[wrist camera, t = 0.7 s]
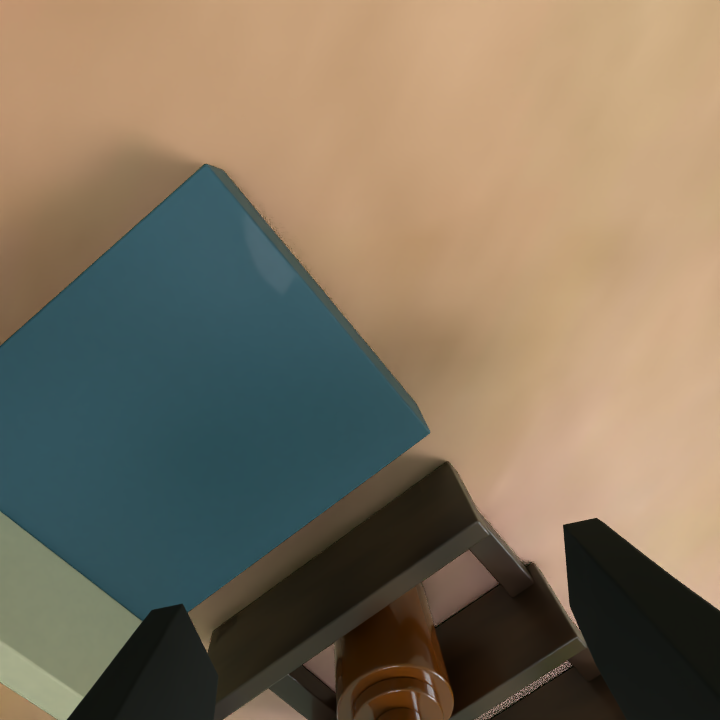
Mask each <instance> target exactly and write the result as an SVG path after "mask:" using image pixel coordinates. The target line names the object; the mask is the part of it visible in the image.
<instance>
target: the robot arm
mask: <svg viewBox="0 0 720 720" xmlns="http://www.w3.org/2000/svg"><path fill="white" fill-rule="evenodd" d="M563 529H564V542H565V554H566V566H567V578H568V591H569V603H570V608H571V610H572V612H573V614H574V617H575V619H576V621H577V624H578V626H579V628H580V631H581V633H582V635H583V637H584V640H585V642H586V644H587V646H588V648H589V651H590V653H591V655H592V657H593V660H594V662H595V664H596V666H597V668H598V670H599V671H600V673H601V675H602V677H603V679H604V680H605V682H606V684H607V686H608V687H609V689H610V691H611V693H612V695H613V696H614V698H615V700H616V702H617V703H618V705H619V707H620V709H621V711H622V712H623V714H624V716H625V718H626V719H627V720H720V611H719V610H718V609H717V608H715V607H714V606H712V605H711V604H710V603H708V602H707V601H706V600H704V599H703V598H701V597H700V596H699V595H697V594H696V593H694V592H693V591H692V590H690V589H689V588H688V587H686V586H685V585H684V584H682V583H681V582H679V581H678V580H677V579H675V578H674V577H673V576H671V575H670V574H669V573H668V572H666V571H665V570H664V569H662V568H661V567H660V566H658V565H657V564H656V563H654V562H653V561H652V560H651V559H649V558H648V557H647V556H645V555H644V554H643V553H642V552H640V551H639V550H638V549H636V548H635V547H634V546H633V545H631V544H630V543H629V542H627V541H626V540H625V539H624V538H622V537H621V536H620V535H619V534H617V533H616V532H615V531H614V530H612V529H611V528H610V527H609V526H607V525H606V524H605V523H603V522H602V521H600V520H599V519H597V518H594V519H589V520H584V521H580V522H575V523H570V524H565V525H563ZM217 685H218V674H217V672H216V670H215V668H214V666H213V664H212V662H211V660H210V658H209V656H208V654H207V652H206V650H205V648H204V646H203V644H202V641H201V639H200V637H199V635H198V633H197V631H196V629H195V627H194V625H193V623H192V621H191V619H190V617H189V615H188V613H187V611H186V609H185V607H184V605H183V604H178V605H173V606H168V607H163V608H158V609H154V610H151V612H150V613H149V614H148V615H147V616H146V618H145V619H144V620H143V621H142V623H141V624H140V625H139V626H138V628H137V629H136V630H135V632H134V633H133V634H132V635H131V637H130V638H129V639H128V641H127V642H126V643H125V645H124V646H123V647H122V649H121V650H120V651H119V652H118V654H117V655H116V656H115V658H114V659H113V660H112V662H111V663H110V664H109V666H108V667H107V668H106V670H105V671H104V672H103V673H102V675H101V676H100V677H99V679H98V680H97V681H96V683H95V684H94V685H93V686H92V688H91V689H90V690H89V692H88V693H87V694H86V695H85V697H84V698H83V699H82V701H81V702H80V703H79V704H78V706H77V707H76V708H75V710H74V711H73V712H72V713H71V715H70V716H69V717H68V719H67V720H214V713H215V704H216V695H217Z"/></svg>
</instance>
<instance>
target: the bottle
mask: <svg viewBox="0 0 720 720" xmlns="http://www.w3.org/2000/svg"><path fill="white" fill-rule="evenodd" d="M334 657H335V683H336V708H337V719H338V720H449V719H450V717H451V715H452V711H453V706H454V695H453V691H452V687H451V684H450V680H449V676H448V673H447V669H446V666H445V662H444V659H443V655H442V651H441V648H440V644H439V641H438V637H437V633H436V630H435V626H434V623H433V619H432V616H431V612H430V608H429V605H428V601H427V598H426V594H425V590H424V588H423V585H422V584H421V583H419V584H418V585H416V586H415V587H414V588H412V589H411V590H409V591H408V592H406V593H405V594H403V595H402V596H401V597H399V598H398V599H396V600H395V601H393V602H392V603H390V604H389V605H388V606H386V607H385V608H383V609H382V610H380V611H379V612H378V613H376V614H375V615H373V616H372V617H370V618H369V619H367V620H366V621H365V622H363V623H362V624H360V625H359V626H357V627H356V628H354V629H353V630H352V631H350V632H349V633H347V634H346V635H344V636H343V637H341V638H340V639H339V640H337V641H336V642H334Z"/></svg>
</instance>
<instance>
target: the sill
mask: <svg viewBox="0 0 720 720" xmlns="http://www.w3.org/2000/svg"><path fill="white" fill-rule="evenodd" d="M428 434H430V430H429V428H428V426H427V424H426V422H425V420H424V418H423V416H422V414H421V412H420V410H419V408H418V406H417V404H416V403H415V401H414V400H413V399H412V398H411V397H410V395H409V394H408V393H407V392H406V391H405V389H404V388H403V387H402V386H401V385H400V383H399V382H398V381H397V380H396V379H395V377H394V376H393V375H392V374H391V372H390V371H389V370H388V369H387V368H386V366H385V365H384V364H383V363H382V362H381V360H380V359H379V358H378V357H377V356H376V354H375V353H374V352H373V351H372V349H371V348H370V347H369V346H368V345H367V343H366V342H365V341H364V340H363V339H362V337H361V336H360V335H359V334H358V333H357V331H356V330H355V329H354V328H353V327H352V325H351V324H350V323H349V322H348V320H347V319H346V318H345V317H344V316H343V314H342V313H341V312H340V311H339V310H338V308H337V307H336V306H335V305H334V304H333V302H332V301H331V300H330V299H329V298H328V296H327V295H326V294H325V293H324V291H323V290H322V289H321V288H320V287H319V285H318V284H317V283H316V282H315V281H314V279H313V278H312V277H311V276H310V275H309V273H308V272H307V271H306V270H305V268H304V267H303V266H302V265H301V264H300V262H299V261H298V260H297V259H296V258H295V256H294V255H293V254H292V253H291V252H290V250H289V249H288V248H287V247H286V246H285V244H284V243H283V242H282V241H281V239H280V238H279V237H278V236H277V235H276V233H275V232H274V231H273V230H272V229H271V227H270V226H269V225H268V224H267V223H266V221H265V220H264V219H263V218H262V217H261V215H260V214H259V213H258V212H257V210H256V209H255V208H254V207H253V206H252V204H251V203H250V202H249V201H248V200H247V198H246V197H245V196H244V195H243V194H242V192H241V191H240V190H239V189H238V188H237V186H236V185H235V184H234V183H233V181H232V180H231V179H230V178H229V177H228V175H227V174H226V173H225V172H224V171H223V170H222V169H219V168H216V167H214V166H211V165H208V164H204V165H203V166H202V167H201V168H200V169H198V170H197V171H196V172H195V173H194V174H193V175H192V176H191V177H189V178H188V179H187V180H186V181H185V182H184V183H183V184H182V185H180V186H179V187H178V188H177V189H176V190H175V191H174V192H173V193H171V194H170V195H169V196H168V197H167V198H166V199H165V200H164V201H162V202H161V203H160V204H159V205H158V206H157V207H156V208H155V209H153V210H152V211H151V212H150V213H149V214H148V215H147V216H146V217H144V218H143V219H142V220H141V221H140V222H139V223H138V224H137V225H135V226H134V227H133V228H132V229H131V230H130V231H129V232H128V233H126V234H125V235H124V236H123V237H122V238H121V239H120V240H119V241H117V242H116V243H115V244H114V245H113V246H112V247H111V248H110V249H108V250H107V251H106V252H105V253H104V254H103V255H102V256H101V257H99V258H98V259H97V260H96V261H95V262H94V263H93V264H92V265H91V266H89V267H88V268H87V269H86V270H85V271H84V272H83V273H82V274H80V275H79V276H78V277H77V278H76V279H75V280H74V281H73V282H71V283H70V284H69V285H68V286H67V287H66V288H65V289H64V290H62V291H61V292H60V293H59V294H58V295H57V296H56V297H55V298H53V299H52V300H51V301H50V302H49V303H48V304H47V305H46V306H44V307H43V308H42V309H41V310H40V311H39V312H38V313H37V314H35V315H34V316H33V317H32V318H31V319H30V320H29V321H28V322H26V323H25V324H24V325H23V326H22V327H21V328H20V329H19V330H17V331H16V332H15V333H14V334H13V335H12V336H11V337H10V338H8V339H7V340H6V341H5V342H4V343H3V344H2V345H1V346H0V682H1V683H2V684H4V685H5V686H7V687H8V688H10V689H11V690H13V691H14V692H16V693H17V694H19V695H21V696H22V697H24V698H25V699H27V700H28V701H30V702H31V703H33V704H34V705H36V706H37V707H39V708H40V709H42V710H44V711H45V712H47V713H48V714H50V715H51V716H53V717H54V718H56V719H57V720H67V719H68V717H69V716H70V715H71V713H72V712H73V711H74V710H75V708H76V707H77V706H78V704H79V703H80V702H81V701H82V699H83V698H84V697H85V695H86V694H87V693H88V692H89V690H90V689H91V688H92V686H93V685H94V684H95V683H96V681H97V680H98V679H99V677H100V676H101V675H102V673H103V672H104V671H105V670H106V668H107V667H108V666H109V664H110V663H111V662H112V660H113V659H114V658H115V656H116V655H117V654H118V652H119V651H120V650H121V649H122V647H123V646H124V645H125V643H126V642H127V641H128V639H129V638H130V637H131V635H132V634H133V633H134V632H135V630H136V629H137V628H138V626H139V625H140V624H141V623H142V621H143V620H144V619H145V618H146V616H147V615H148V614H149V613H150V612H151V610H154V609H158V608H163V607H168V606H173V605H178V604H183V605H184V607H185V609H186V611H187V613H188V612H189V611H190V610H192V609H193V608H194V607H196V606H197V605H198V604H200V603H201V602H202V601H204V600H205V599H206V598H208V597H209V596H211V595H212V594H213V593H215V592H216V591H217V590H219V589H220V588H221V587H223V586H224V585H225V584H227V583H228V582H229V581H231V580H232V579H234V578H235V577H236V576H238V575H239V574H240V573H242V572H243V571H244V570H246V569H247V568H248V567H250V566H251V565H252V564H254V563H255V562H257V561H258V560H259V559H261V558H262V557H263V556H265V555H266V554H267V553H269V552H270V551H271V550H273V549H274V548H275V547H277V546H278V545H280V544H281V543H282V542H284V541H285V540H286V539H288V538H289V537H290V536H292V535H293V534H294V533H296V532H297V531H298V530H300V529H301V528H303V527H304V526H305V525H307V524H308V523H309V522H311V521H312V520H313V519H315V518H316V517H317V516H319V515H320V514H321V513H323V512H324V511H326V510H327V509H328V508H330V507H331V506H332V505H334V504H335V503H336V502H338V501H339V500H340V499H342V498H343V497H344V496H346V495H347V494H349V493H350V492H351V491H353V490H354V489H355V488H357V487H358V486H359V485H361V484H362V483H363V482H365V481H366V480H368V479H369V478H370V477H372V476H373V475H374V474H376V473H377V472H378V471H380V470H381V469H382V468H384V467H385V466H386V465H388V464H389V463H391V462H392V461H393V460H395V459H396V458H397V457H399V456H400V455H401V454H403V453H404V452H405V451H407V450H408V449H409V448H411V447H412V446H414V445H415V444H416V443H418V442H419V441H420V440H422V439H423V438H424V437H426V436H427V435H428Z"/></svg>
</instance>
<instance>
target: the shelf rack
mask: <svg viewBox="0 0 720 720" xmlns="http://www.w3.org/2000/svg"><path fill="white" fill-rule="evenodd" d="M468 549H469V550H470V551H471V552H472V553H473V554H474V555H475V556H476V558H477V559H478V560H479V561H480V562H481V563H482V564H483V565H484V566H485V568H486V569H487V570H488V571H489V572H490V573H491V574H492V575H493V577H494V578H495V579H496V580H497V581H498V582H499V583H500V585H499V586H498V587H496V588H495V589H493V590H492V591H490V592H489V593H487V594H486V595H484V596H483V597H481V598H480V599H478V600H477V601H475V602H474V603H472V604H471V605H469V606H468V607H466V608H465V609H463V610H462V611H461V612H459V613H458V614H456V615H455V616H453V617H452V618H450V619H449V620H447V621H446V622H444V623H443V624H441V625H440V626H438V627H437V628H435V630H436V633H437V637H438V641H439V644H440V648H441V651H442V655H443V659H444V662H445V666H446V669H447V673H448V676H449V680H450V684H451V687H452V691H453V695H454V706H453V711H452V715H451V717H450V719H449V720H474V719H476V718H477V717H479V716H481V715H482V714H484V713H485V712H487V711H488V710H490V709H491V708H493V707H495V706H496V705H498V704H499V703H501V702H502V701H504V700H506V699H507V698H509V697H510V696H512V695H513V694H515V693H517V692H518V691H520V690H521V689H523V688H524V687H526V686H528V685H529V684H531V683H532V682H534V681H535V680H537V679H539V678H540V677H542V676H543V675H545V674H546V673H548V672H549V671H551V670H553V669H554V668H556V667H557V666H559V665H560V664H562V663H564V662H565V661H567V660H568V661H569V662H570V663H571V664H572V665H573V666H574V667H573V668H571V669H569V670H568V671H566V672H565V673H563V674H562V675H560V676H558V677H557V678H555V679H554V680H552V681H551V682H549V683H547V684H546V685H544V686H543V687H541V688H539V689H538V690H536V691H535V692H533V693H532V694H530V695H528V696H527V697H525V698H524V699H522V700H521V701H519V702H517V703H516V704H514V705H513V706H511V707H510V708H508V709H506V710H505V711H503V712H502V713H500V714H499V715H497V716H495V717H494V718H492V719H491V720H627V719H626V718H625V716H624V714H623V712H622V711H621V709H620V707H619V705H618V703H617V702H616V700H615V698H614V696H613V695H612V693H611V691H610V689H609V687H608V686H607V684H606V682H605V680H604V679H603V677H602V675H601V673H600V671H599V670H598V668H597V666H596V664H595V662H594V660H593V657H592V655H591V653H590V651H589V648H588V646H587V644H586V642H585V640H584V637H583V635H582V633H581V631H580V630H579V629H578V628H577V627H576V626H575V624H574V623H573V622H572V621H571V620H570V618H569V616H568V615H567V613H566V611H565V610H564V608H563V606H562V605H561V603H560V602H559V600H558V598H557V597H556V595H555V593H554V592H553V590H552V588H551V587H550V585H549V584H548V582H547V580H546V579H545V577H544V575H543V574H542V572H541V571H540V570H539V569H538V567H537V566H536V565H535V564H534V563H532V564H530V565H529V566H527V567H525V566H524V565H523V563H522V562H521V561H520V560H519V559H518V557H517V556H516V555H515V554H514V553H513V552H512V550H511V549H510V548H509V547H508V546H507V545H506V543H505V542H504V541H503V540H502V539H501V538H500V536H499V535H498V534H497V533H496V532H495V530H494V529H493V528H492V527H491V526H490V525H489V523H488V522H487V521H486V520H485V519H484V518H483V516H482V515H481V514H480V513H479V512H478V510H477V508H476V506H475V504H474V502H473V501H472V499H471V497H470V495H469V493H468V491H467V489H466V487H465V485H464V483H463V482H462V480H461V478H460V476H459V474H458V472H457V471H456V470H455V469H454V468H453V466H452V465H451V464H450V463H449V462H446V463H444V464H443V465H442V466H440V467H439V468H437V469H436V470H435V471H433V472H432V473H431V474H429V475H428V476H426V477H425V478H424V479H422V480H421V481H420V482H418V483H417V484H416V485H414V486H413V487H411V488H410V489H409V490H407V491H406V492H404V493H403V494H402V495H400V496H399V497H398V498H396V499H395V500H393V501H392V502H391V503H389V504H388V505H387V506H385V507H384V508H382V509H381V510H380V511H378V512H377V513H376V514H374V515H373V516H371V517H370V518H369V519H367V520H366V521H365V522H363V523H362V524H360V525H359V526H358V527H356V528H355V529H354V530H352V531H351V532H349V533H348V534H347V535H345V536H344V537H343V538H341V539H340V540H338V541H337V542H336V543H334V544H333V545H331V546H330V547H329V548H327V549H326V550H325V551H323V552H322V553H320V554H319V555H318V556H316V557H315V558H314V559H312V560H311V561H309V562H308V563H307V564H305V565H304V566H303V567H301V568H300V569H298V570H297V571H296V572H294V573H293V574H292V575H290V576H289V577H287V578H286V579H285V580H283V581H282V582H281V583H279V584H278V585H276V586H275V587H274V588H272V589H271V590H269V591H268V592H267V593H265V594H264V595H263V596H261V597H260V598H258V599H257V600H256V601H254V602H253V603H252V604H250V605H249V606H247V607H246V608H245V609H243V610H242V611H241V612H239V613H238V614H236V615H235V616H233V617H232V618H231V619H229V620H228V621H227V622H225V623H224V624H222V625H221V626H220V627H219V628H217V629H216V630H214V631H213V633H212V637H211V641H210V645H209V649H208V653H207V654H208V656H209V658H210V660H211V662H212V664H213V666H214V668H215V670H216V672H217V674H218V685H217V695H216V704H215V713H214V720H223V719H225V718H226V717H227V716H229V715H230V714H232V713H233V712H235V711H236V710H238V709H239V708H240V707H242V706H243V705H245V704H246V703H248V702H249V701H251V700H252V699H253V698H255V697H256V696H258V695H259V694H261V693H262V692H264V691H265V690H266V689H268V688H269V689H270V690H271V691H273V692H274V693H275V694H276V695H278V696H279V697H280V698H281V699H283V700H284V701H285V702H286V703H288V704H289V705H290V706H291V707H293V708H294V709H295V710H296V711H298V712H299V713H300V714H301V715H303V716H304V717H305V718H306V719H308V720H338V719H337V708H336V694H335V693H334V692H333V691H331V690H330V689H329V688H328V687H327V686H325V685H324V684H323V683H322V682H321V681H320V680H318V679H317V678H316V677H315V676H314V675H312V674H311V673H310V672H309V671H308V670H307V669H305V668H304V667H303V666H302V664H304V663H305V662H307V661H308V660H310V659H311V658H313V657H314V656H315V655H317V654H318V653H320V652H321V651H323V650H324V649H326V648H327V647H328V646H330V645H331V644H333V643H334V642H336V641H337V640H339V639H340V638H341V637H343V636H344V635H346V634H347V633H349V632H350V631H352V630H353V629H354V628H356V627H357V626H359V625H360V624H362V623H363V622H365V621H366V620H367V619H369V618H370V617H372V616H373V615H375V614H376V613H378V612H379V611H380V610H382V609H383V608H385V607H386V606H388V605H389V604H390V603H392V602H393V601H395V600H396V599H398V598H399V597H401V596H402V595H403V594H405V593H406V592H408V591H409V590H411V589H412V588H414V587H415V586H416V585H418V584H419V583H421V582H422V581H424V580H425V579H427V578H428V577H429V576H431V575H432V574H434V573H435V572H437V571H438V570H440V569H441V568H442V567H444V566H445V565H447V564H448V563H450V562H451V561H453V560H454V559H455V558H457V557H458V556H460V555H461V554H463V553H464V552H466V551H467V550H468Z"/></svg>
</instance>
